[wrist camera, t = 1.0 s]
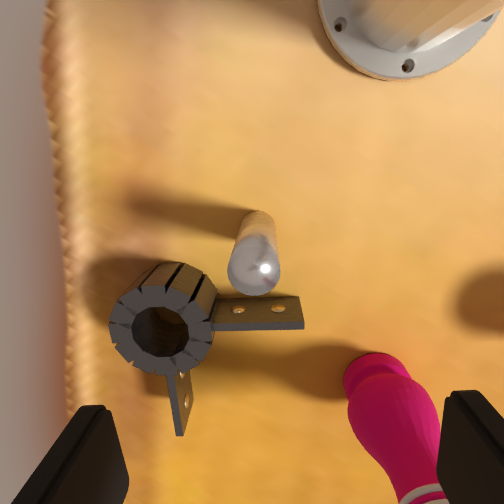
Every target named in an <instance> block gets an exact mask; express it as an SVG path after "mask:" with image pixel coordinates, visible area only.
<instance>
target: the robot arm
mask: <svg viewBox="0 0 504 504" xmlns="http://www.w3.org/2000/svg"><path fill="white" fill-rule="evenodd" d="M317 2H318V9H319V15H320V18H321V21H322V24H323V27H324V30H325V32H326V34H327V36H328V38H329V40H330V41H331V43H332V45H333V47H334V48H335V50H336V51H337V52H338V53H339V54H340V55H341V56H342V58H343V59H344V60H345V61H346V62H347V63H349V64H350V65H351V66H353V67H354V68H355V69H357V70H358V71H360V72H362V73H364V74H366V75H368V76H371V77H373V78H377V79H382V80H387V81H408V80H412V79H417V78H422V77H425V76H427V75H430V74H432V73H435V72H437V71H439V70H441V69H443V68H445V67H447V66H449V65H451V64H452V63H454V62H456V61H457V60H458V59H460V58H461V57H462V56H463V55H465V54H466V53H467V52H469V51H470V50H471V49H472V48H473V47H474V46H475V45H476V44H477V43H478V42H479V41H480V40H481V39H482V37H483V36H484V35H485V34H486V33H487V32H488V30H489V29H490V27H491V26H492V25H493V23H494V22H495V20H496V19H497V17H498V16H499V14H500V12H501V10H502V8H504V0H317ZM336 25H339V26H340V27H341V31H340V32H337V31H336V30H335V26H336ZM402 65H405V66H406V71H405V72H403V70H402ZM436 474H437V478H438V481H439V484H440V486H441V488H442V490H443V492H444V494H445V496H446V498H447V500H448V502H449V503H450V504H504V418H503V417H502V416H501V415H500V414H499V413H498V412H497V411H496V409H495V408H494V407H493V406H492V405H491V404H490V403H489V402H488V400H487V399H486V398H485V397H484V396H483V395H482V394H481V393H480V392H479V391H477V390H462V391H453V392H452V393H451V395H450V397H446V399H445V404H444V411H443V419H442V427H441V435H440V442H439V450H438V458H437V466H436ZM128 487H129V475H128V472H127V468H126V464H125V461H124V457H123V453H122V450H121V446H120V442H119V439H118V435H117V431H116V428H115V424H114V420H113V417H112V413H111V411H110V410H106V407H105V406H104V405H85V406H82V407H80V408H79V409H78V410H77V412H76V413H75V415H74V416H73V417H72V419H71V420H70V422H69V423H68V425H67V426H66V427H65V429H64V430H63V432H62V433H61V434H60V436H59V437H58V439H57V440H56V441H55V443H54V444H53V446H52V447H51V448H50V450H49V451H48V453H47V454H46V455H45V457H44V458H43V460H42V461H41V463H40V464H39V465H38V467H37V468H36V469H35V471H34V472H33V474H32V475H31V476H30V478H29V479H28V481H27V482H26V483H25V485H24V486H23V488H22V489H21V490H20V492H19V493H18V495H17V496H16V498H15V499H14V500H13V502H12V503H11V504H123V502H124V499H125V497H126V494H127V491H128Z"/></svg>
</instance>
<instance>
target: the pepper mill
mask: <svg viewBox="0 0 504 504" xmlns="http://www.w3.org/2000/svg"><path fill="white" fill-rule="evenodd" d="M343 385H344V388H345V392H346V395H347V398H348V400H349V403H348V418H349V422H350V424H351V427H352V429H353V432H354V433H355V435H356V437H357V439H358V440H359V441H360V443H361V444H362V446H363V447H364V448H365V450H366V451H367V452H368V453H369V454H370V455H371V456H372V457H373V458H374V459H375V460H376V461H377V462H378V463H379V464H380V465H381V466H382V468H383V469H384V470H385V472H386V473H387V475H388V476H389V478H390V480H391V483H392V485H393V487H394V490H395V492H396V496H397V499H398V503H399V504H450V503H449V502H448V500H447V498H446V496H445V494H444V492H443V490H442V488H441V486H440V484H439V481H438V478H437V474H436V466H437V458H438V450H439V442H440V423H439V419H438V415H437V411H436V409H435V406H434V404H433V402H432V400H431V398H430V396H429V394H428V393H427V392H426V390H425V389H424V388H423V387H422V386H421V385H420V384H418V383H417V382H415V381H414V380H412V379H411V377H410V375H409V373H408V372H407V370H406V369H405V367H404V365H403V364H402V363H401V362H400V361H399V360H398V359H396V358H394V357H392V356H390V355H387V354H380V353H374V354H367V355H365V356H362V357H360V358H358V359H357V360H355V361H353V362H352V363H351V364H350V365H349V367H348V368H347V370H346V372H345V374H344V378H343Z"/></svg>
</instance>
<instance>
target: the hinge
mask: <svg viewBox="0 0 504 504" xmlns="http://www.w3.org/2000/svg"><path fill="white" fill-rule="evenodd" d="M202 273H203V272H202V271H200V270H198V269H196V268H194V267H192V266H190V265H188V264H186V263H185V264H184V266H183V267H181V262H177V263H161V264H160V265H158V264H157V265H155V266H154V267H152V268H151V269H149V270H148V271H146V272H144V273H143V274H142V275H141V276H140V277H139V278H138V279H137V280H136V281H135V282H134V283H133V284H132V285H131V286H130V287H129V288H128V289H127V290H126V291H125V293H124V294H123V295H122V296H121V297H120V298H119V299H118V300H117V301H116V303H115V305H114V308H113V310H112V312H111V315H110V317H109V320H110V322H109V324H108V326H109V330H110V335H111V339H112V343H117V344H116V346H115V348H116V350H117V351H118V352H119V353H120V354H121V355H122V356H123V357H124V359H125V360H126V361H127V362H128V363H129V362H131V361H133V360H135V361H134V363H133V365H132V366H134V367H136V368H139V369H141V370H143V371H146V372H148V373H150V374H153V372H154V370H155V369H156V375H166V378H167V384H168V391H169V397H170V403H171V409H172V415H173V421H174V427H175V433H176V436H184V432H185V429H186V425H187V422H188V418H189V415H190V411H191V407H192V404H193V393H192V385H191V378H190V371H189V370H190V369H192V368H194V367H196V366H198V365H199V364H200V361H203V359H204V358H205V356H206V354H207V352H208V350H209V349H210V347H211V345H212V341H213V337H214V334H215V331H250V330H297V329H304V318H303V313H302V309H301V304H300V299H299V297H267V298H229V299H219V293H217V288H216V287H215V286H214V284H213V283H212V282H211V280H210V279H209V278H208V276H207V275H205V276H203V277H202V278H200V277H201V275H202ZM216 293H217V294H216ZM154 307H165V308H168V309H170V310H172V311H174V312H176V313H178V314H179V315H180V316H181V317H182V319H183V320H184V321H185V322H186V324H179V325H173V324H171V323H169V322H167V321H164V320H162V319H161V318H160V316H159V315H158V314H157V313H156V312H155V310H154Z"/></svg>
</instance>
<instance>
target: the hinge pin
mask: <svg viewBox="0 0 504 504" xmlns="http://www.w3.org/2000/svg"><path fill="white" fill-rule="evenodd" d="M227 273H228V278H229V280H230V282H231V284H232V285H233V287H234V288H235V289H236V290H238V291H239V292H241V293H243V294H246V295H250V296H258V295H263V294H265V293H267V292H269V291H271V290H272V289H273V288H274V287H275V286H276V284H277V282H278V280H279V277H280V264H279V255H278V247H277V238H276V229H275V223H274V221H273V219H272V217H271V216H270V215H268V214H267V213H265V212H262V211H254V212H251V213H249V214H247V215H246V216H245V217H244V218H243V220H242V222H241V226H240V229H239V232H238V235H237V238H236V242H235V245H234V248H233V251H232V254H231V258H230V261H229V264H228V269H227Z"/></svg>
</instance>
